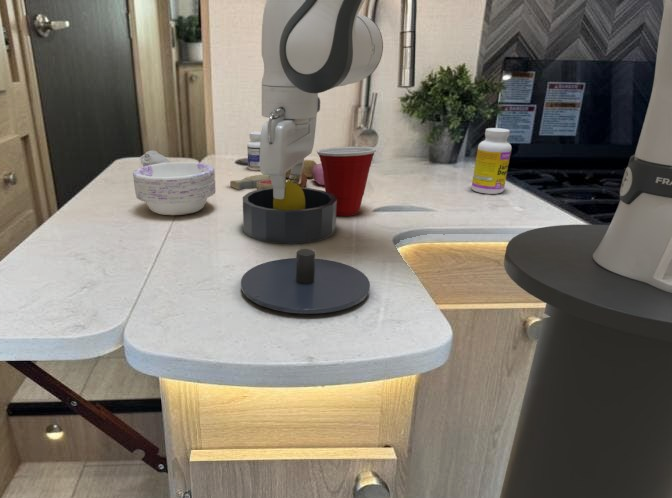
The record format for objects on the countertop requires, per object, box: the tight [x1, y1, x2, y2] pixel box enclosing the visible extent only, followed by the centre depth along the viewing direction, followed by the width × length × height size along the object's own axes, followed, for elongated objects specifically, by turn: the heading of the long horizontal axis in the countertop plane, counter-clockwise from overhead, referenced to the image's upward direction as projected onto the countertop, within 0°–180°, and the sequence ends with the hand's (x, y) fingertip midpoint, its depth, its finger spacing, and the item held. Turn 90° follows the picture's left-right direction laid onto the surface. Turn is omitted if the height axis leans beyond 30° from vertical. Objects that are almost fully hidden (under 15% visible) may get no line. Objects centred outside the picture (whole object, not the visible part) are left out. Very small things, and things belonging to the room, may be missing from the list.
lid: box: [240, 248, 371, 315], centre depth 71 cm, size 17×17×5 cm
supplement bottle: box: [471, 127, 513, 195], centre depth 115 cm, size 7×7×13 cm
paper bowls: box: [132, 161, 216, 216], centre depth 104 cm, size 15×15×8 cm
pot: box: [242, 187, 337, 245], centre depth 94 cm, size 16×16×5 cm
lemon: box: [273, 180, 305, 210], centre depth 93 cm, size 6×6×8 cm
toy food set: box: [229, 159, 325, 191], centre depth 124 cm, size 26×16×4 cm, turn 134°
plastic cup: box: [316, 146, 377, 217], centre depth 101 cm, size 11×11×12 cm
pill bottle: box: [246, 131, 261, 171], centre depth 137 cm, size 5×5×9 cm
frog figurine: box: [139, 149, 171, 167], centre depth 125 cm, size 6×7×7 cm
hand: (287, 191), depth 92 cm, fingers open, 8 cm apart
